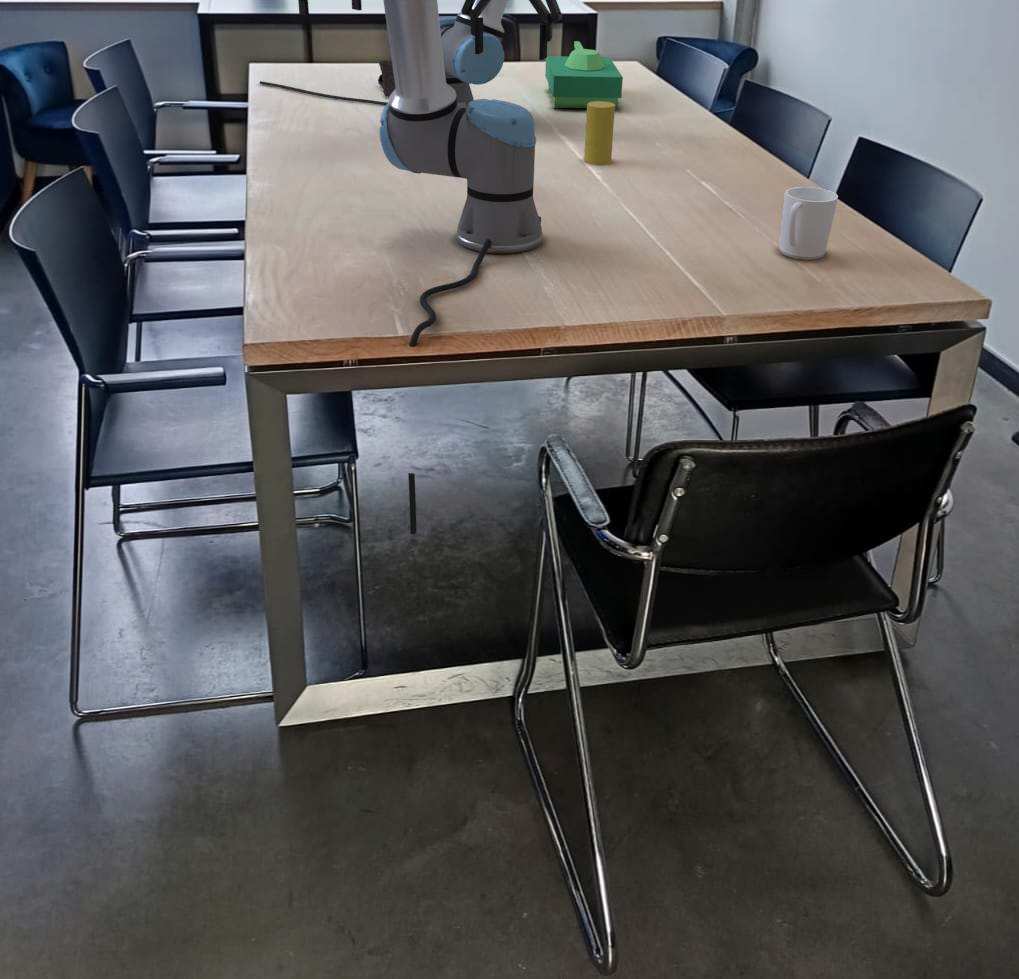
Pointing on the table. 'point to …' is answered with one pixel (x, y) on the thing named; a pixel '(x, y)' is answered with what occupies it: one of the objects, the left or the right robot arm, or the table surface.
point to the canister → (599, 132)
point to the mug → (806, 222)
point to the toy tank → (582, 78)
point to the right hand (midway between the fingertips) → (510, 56)
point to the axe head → (387, 77)
